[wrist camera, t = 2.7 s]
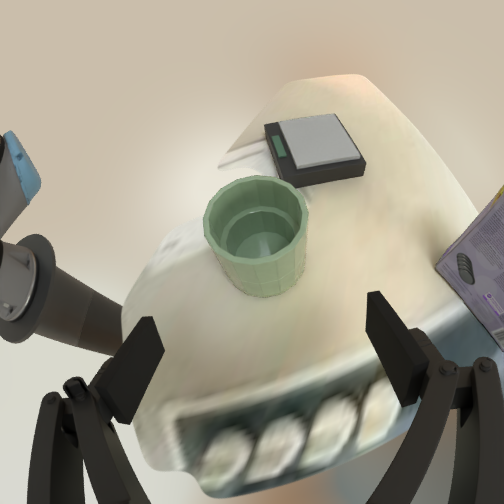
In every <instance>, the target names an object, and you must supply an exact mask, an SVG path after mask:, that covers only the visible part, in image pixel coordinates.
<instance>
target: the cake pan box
mask: <svg viewBox="0 0 504 504" xmlns="http://www.w3.org/2000/svg"><path fill="white" fill-rule="evenodd" d="M435 269H436V271H437V272H438V273H439V274H441V275H442V276H443V277H444V278H445V279H446V280H447V281H448V283H449V284H450V285H451V286H452V287H453V288H454V289H455V290H456V291H457V293H458V294H459V295H460V296H461V297H462V299H463V300H464V303H465V304H466V305H467V307H468V308H469V309H470V310H471V311H472V313H473V314H474V315H475V316H476V318H477V319H478V320H479V321H480V322H481V323H482V324H483V325H484V326H485V328H486V329H487V330H488V331H489V333H490V334H491V335H492V337H493V338H494V339H495V341H496V342H497V343H498V345H499V346H500V348H501V350H502V351H503V352H504V185H503V187H502V188H501V189H500V190H499V192H498V193H497V194H496V195H495V197H494V198H493V199H492V200H491V202H490V203H489V204H488V205H487V206H486V208H484V209H483V211H482V212H481V213H480V214H479V215H478V216H477V217H476V219H475V220H474V221H473V222H472V223H471V224H470V226H469V227H468V228H467V229H466V230H465V231H464V232H463V234H462V235H461V236H460V237H459V238H458V239H457V240H456V241H455V242H454V243H453V244H452V245H451V246H450V247H449V248H448V249H447V250H446V252H445V253H444V254H443V256H442V257H441V258H440V260H439V261H438V263H437V264H436V267H435Z"/></svg>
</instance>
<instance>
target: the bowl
mask: <svg viewBox="0 0 504 504" xmlns="http://www.w3.org/2000/svg"><path fill="white" fill-rule="evenodd" d="M308 217H309V212H308V209H307V206H306V203H305V201H304V198H303V196H302V195H301V194H300V193H299V192H298V191H297V190H296V189H295V188H294V187H293V186H292V185H291V184H290V183H287V182H285V181H283V180H281V179H278V178H276V177H272V176H259V175H256V176H250V177H245V178H241V179H237V180H235V181H234V182H232V183H230V184H228V185H226V186H225V187H223V188H221V189H220V190H219V191H218V192H217V193H216V195H215V196H214V197H213V198H212V199H211V200H210V201H209V203H208V206H207V209H206V211H205V214H204V217H203V227H204V236H205V238H206V240H207V241H208V243H209V245H210V247H211V248H212V250H213V252H214V253H215V255H216V257H217V258H218V260H219V262H220V264H221V265H222V267H223V269H224V270H225V272H226V274H227V275H228V277H229V278H230V280H231V281H232V283H233V285H234V286H235V287H236V288H238V289H239V290H241V291H243V292H244V293H246V294H247V295H251V296H257V297H263V298H264V297H270V296H274V295H279V294H282V293H283V292H285V291H286V290H288V289H289V288H291V287H292V286H294V285H295V284H296V282H297V281H298V279H299V278H300V276H301V275H302V273H303V271H304V265H305V259H306V247H307V233H308Z"/></svg>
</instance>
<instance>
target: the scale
mask: <svg viewBox="0 0 504 504" xmlns="http://www.w3.org/2000/svg"><path fill="white" fill-rule="evenodd" d="M264 127H265V134H266V139H267V142H268V144H269V147H270V150H271V153H272V156H273V159H274V162H275V165H276V168H277V171H278V174H279V177H280V179H281V180H283V181H285V182H287V183H290V184H291V185H292V186H293V187H294V188H299V187H304V186H309V185H315V184H320V183H325V182H330V181H336V180H341V179H347V178H353V177H359V176H363V175H364V171H365V166H366V161H365V160H364V158H363V156H362V155H361V153H360V151H359V150H358V148H357V147H356V145H355V143H354V142H353V140H352V139H351V137H350V135H349V134H348V132H347V131H346V129H345V128H344V126H343V125H342V123H341V122H340V120H339V119H338V117H337V116H336V114H326V115H319V116H311V117H304V118H298V119H292V120H286V121H280V122H275V123H270V124H265V125H264Z"/></svg>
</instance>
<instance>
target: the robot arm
mask: <svg viewBox="0 0 504 504" xmlns="http://www.w3.org/2000/svg"><path fill="white" fill-rule="evenodd" d="M40 187H41V179H40V176H39V174H38V172H37V170H36V169H35V167H34V165H33V163H32V161H31V160H30V158H29V156H28V155H27V153H26V151H25V150H24V148H23V146H22V145H21V143H20V142H19V140H18V138H17V137H16V136H15V134H14V133H13V132H12V131H8V132H7V133H5V134H4V135H3V137H2V136H1V135H0V239H1V238H2V236H3V235H4V234H5V233H6V231H7V230H8V229H9V227H10V226H11V225H12V224H13V222H14V221H15V220H16V218H17V217H18V216H19V215H20V214H21V212H22V211H23V210H24V209H25V208H26V207H27V205H29V204H30V201H31V200H32V198H33V197H34V196H35V195H36V193H37V192H38V191H39V189H40ZM38 280H39V262H38V258H37V256H36V254H35V253H34V252H32V251H31V250H30V249H28V248H26V247H23V246H19V245H14V244H10V243H6V242H3V241H1V240H0V317H1V318H2V319H4V320H6V321H8V322H16V321H18V320H20V319H21V318H22V317H23V316H24V315H25V314H26V312H27V311H28V309H29V307H30V305H31V303H32V301H33V299H34V296H35V293H36V290H37V285H38ZM365 331H366V333H367V335H368V337H369V339H370V341H371V343H372V345H373V347H374V349H375V351H376V353H377V355H378V357H379V359H380V361H381V363H382V365H383V367H384V369H385V372H386V374H387V376H388V378H389V380H390V382H391V384H392V387H393V389H394V391H395V393H396V395H397V398H398V400H399V402H400V404H401V407H405V406H409V405H412V404H415V403H416V402H417V399H418V396H420V398H421V400H422V401H421V403H420V406H419V408H418V411H417V413H416V415H415V417H414V420H413V422H412V424H411V426H410V428H409V431H408V433H407V435H406V437H405V439H404V441H403V443H402V445H401V447H400V448H399V450H398V452H397V454H396V456H395V458H394V460H393V461H392V463H391V465H390V467H389V468H388V470H387V472H386V473H385V475H384V477H383V478H382V480H381V481H380V483H379V485H378V486H377V488H376V489H375V491H374V492H373V494H372V495H371V497H370V498H369V500H368V501H367V502H366V504H410V503H411V501H412V499H413V498H414V496H415V494H416V492H417V490H418V488H419V486H420V484H421V482H422V480H423V478H424V476H425V474H426V472H427V470H428V467H429V464H430V463H431V460H432V458H433V456H434V453H435V451H436V448H437V446H438V443H439V441H440V438H441V435H442V433H443V429H444V427H445V424H446V421H447V418H448V415H449V411H450V409H457V435H456V451H455V461H454V471H453V478H452V484H451V490H450V496H449V501H448V504H504V400H503V394H502V388H501V383H500V378H499V373H498V368H497V365H496V363H495V361H493V360H492V359H491V358H488V357H479V358H478V359H476V360H475V362H474V364H473V366H470V367H458V365H457V364H456V363H454V362H452V361H449V360H444V358H443V357H442V355H441V354H440V353H439V351H438V350H437V349H436V347H435V346H434V345H433V344H432V342H431V341H430V339H429V338H428V337H427V335H426V334H425V333H424V332H423V331H421V330H420V329H418V328H413V329H409V330H408V329H407V327H406V326H405V324H404V323H403V322H402V320H401V319H400V318H399V316H398V315H397V313H396V312H395V311H394V309H393V308H392V307H391V305H390V304H389V303H388V301H387V300H386V299H385V298H384V296H383V295H382V294H381V292H380V291H374V292H368V293H367V314H366V330H365ZM164 352H165V349H164V347H163V344H162V341H161V339H160V336H159V333H158V331H157V328H156V325H155V322H154V319H153V317H152V316H148V317H142V318H141V319H140V320H139V322H138V323H137V325H136V326H135V327H134V329H133V330H132V332H131V333H130V334H129V336H128V337H127V339H126V340H125V341H124V343H123V344H122V346H121V347H120V349H119V350H118V351H117V353H116V354H115V356H114V357H111V358H109V359H108V360H107V361H105V362H104V364H103V365H102V366H101V368H100V369H99V371H98V372H97V374H96V375H95V377H94V378H93V380H92V381H91V382H90V384H89V385H88V386H87V385H86V383H85V382H84V380H83V378H81V377H72V378H71V379H69V380H67V381H66V382H65V383H64V385H63V390H64V391H65V393H66V394H67V396H68V397H69V398H62V397H61V396H60V394H59V393H58V392H50V393H48V394H46V395H45V396H44V398H43V399H42V402H41V407H40V410H39V415H38V419H37V424H36V429H35V435H34V440H33V446H32V452H31V460H30V468H29V478H28V491H27V504H85V494H84V477H83V459H84V463H85V466H86V470H87V473H88V476H89V479H90V482H91V485H92V488H93V490H94V493H95V496H96V499H97V501H98V504H151V502H150V501H149V499H148V498H147V495H146V494H145V492H144V490H143V488H142V486H141V485H140V483H139V481H138V479H137V477H136V475H135V473H134V471H133V469H132V467H131V465H130V463H129V461H128V458H127V456H126V454H125V451H124V449H123V447H122V445H121V442H120V440H119V438H118V435H117V432H116V430H115V428H114V425H113V423H112V422H111V419H112V417H113V416H114V418H115V419H116V420H117V422H118V423H122V424H128V425H130V423H131V422H132V419H133V417H134V415H135V413H136V411H137V409H138V406H139V404H140V402H141V400H142V398H143V396H144V394H145V391H146V389H147V387H148V385H149V383H150V381H151V379H152V377H153V375H154V372H155V370H156V368H157V366H158V364H159V362H160V360H161V358H162V356H163V354H164Z"/></svg>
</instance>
